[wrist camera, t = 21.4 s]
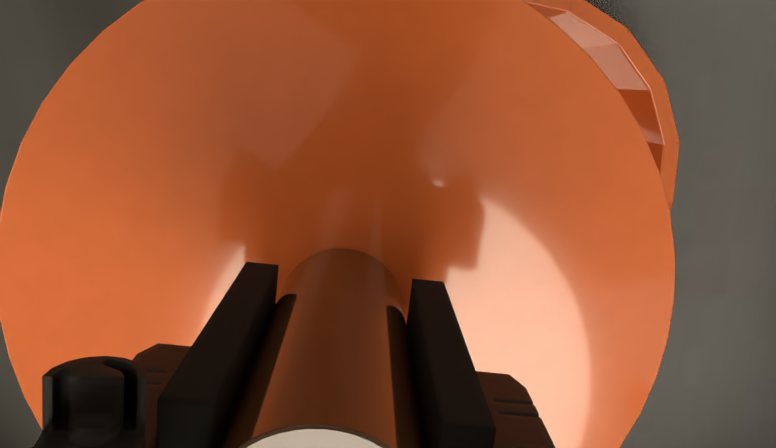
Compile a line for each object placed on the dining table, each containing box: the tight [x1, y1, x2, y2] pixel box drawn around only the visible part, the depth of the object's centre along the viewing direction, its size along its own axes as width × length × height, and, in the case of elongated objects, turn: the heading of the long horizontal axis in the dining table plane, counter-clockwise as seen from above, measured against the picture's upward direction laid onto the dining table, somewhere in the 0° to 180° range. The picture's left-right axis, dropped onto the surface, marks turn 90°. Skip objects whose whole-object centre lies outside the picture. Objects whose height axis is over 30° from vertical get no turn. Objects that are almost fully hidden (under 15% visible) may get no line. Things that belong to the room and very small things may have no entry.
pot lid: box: [0, 0, 675, 448], centre depth 13 cm, size 18×18×10 cm
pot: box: [523, 0, 679, 211], centre depth 32 cm, size 17×22×5 cm
